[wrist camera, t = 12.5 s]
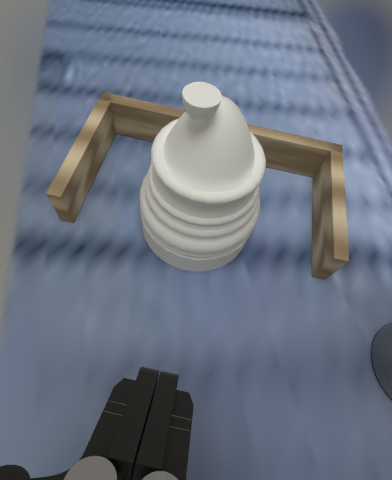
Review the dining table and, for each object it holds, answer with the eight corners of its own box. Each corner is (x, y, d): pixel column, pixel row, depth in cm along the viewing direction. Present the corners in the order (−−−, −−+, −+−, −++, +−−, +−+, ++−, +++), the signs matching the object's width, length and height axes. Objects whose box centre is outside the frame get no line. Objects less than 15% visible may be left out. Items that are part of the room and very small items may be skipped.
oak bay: (324, 279, 34) (349, 261, 30) (60, 220, 34) (46, 193, 30) (323, 171, 42) (342, 145, 38) (108, 124, 42) (102, 92, 38)
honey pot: (193, 295, 32) (224, 191, 16) (119, 216, 35) (85, 67, 19) (269, 228, 37) (351, 98, 21) (198, 165, 40) (221, 13, 24)
